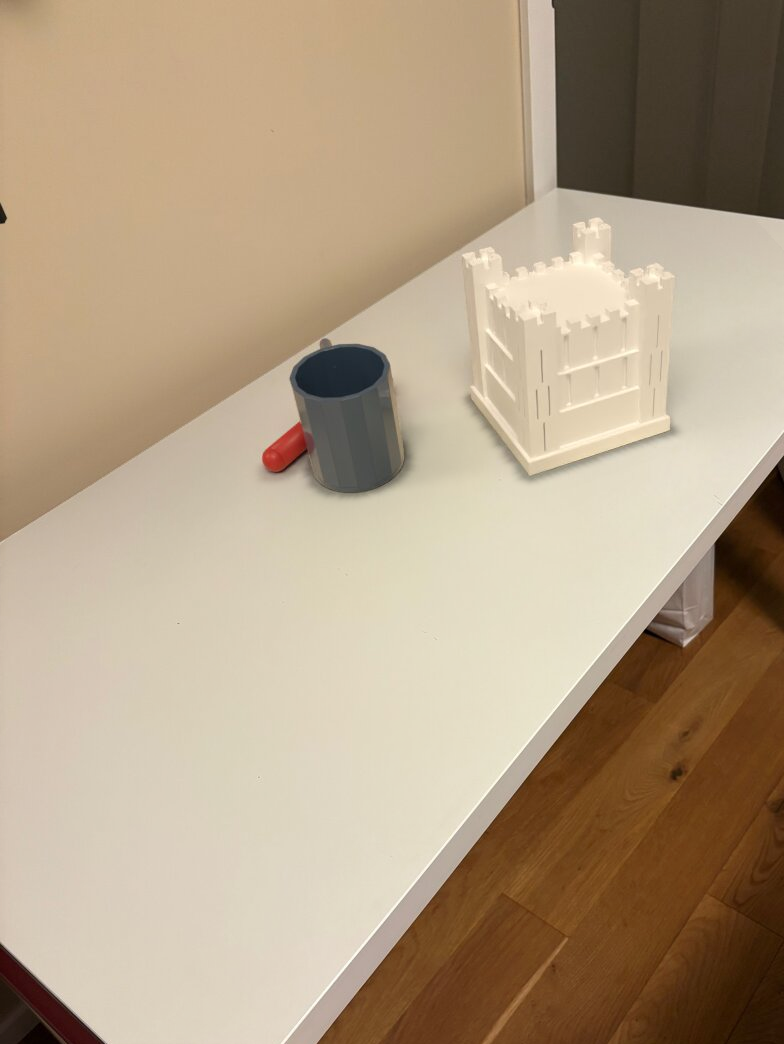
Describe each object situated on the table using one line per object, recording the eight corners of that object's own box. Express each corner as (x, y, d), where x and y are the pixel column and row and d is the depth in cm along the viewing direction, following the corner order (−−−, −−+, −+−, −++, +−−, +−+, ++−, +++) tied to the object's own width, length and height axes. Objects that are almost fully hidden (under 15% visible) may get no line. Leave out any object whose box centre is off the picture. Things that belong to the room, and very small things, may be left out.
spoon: (289, 483, 88) (284, 462, 86) (250, 469, 90) (243, 448, 88) (397, 388, 97) (393, 368, 95) (358, 377, 99) (354, 357, 98)
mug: (414, 478, 86) (400, 385, 79) (322, 502, 85) (299, 410, 78) (380, 401, 95) (365, 311, 88) (297, 422, 94) (274, 333, 87)
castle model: (470, 398, 95) (456, 254, 84) (598, 359, 97) (600, 214, 87) (529, 475, 85) (521, 324, 74) (669, 430, 87) (681, 277, 77)
